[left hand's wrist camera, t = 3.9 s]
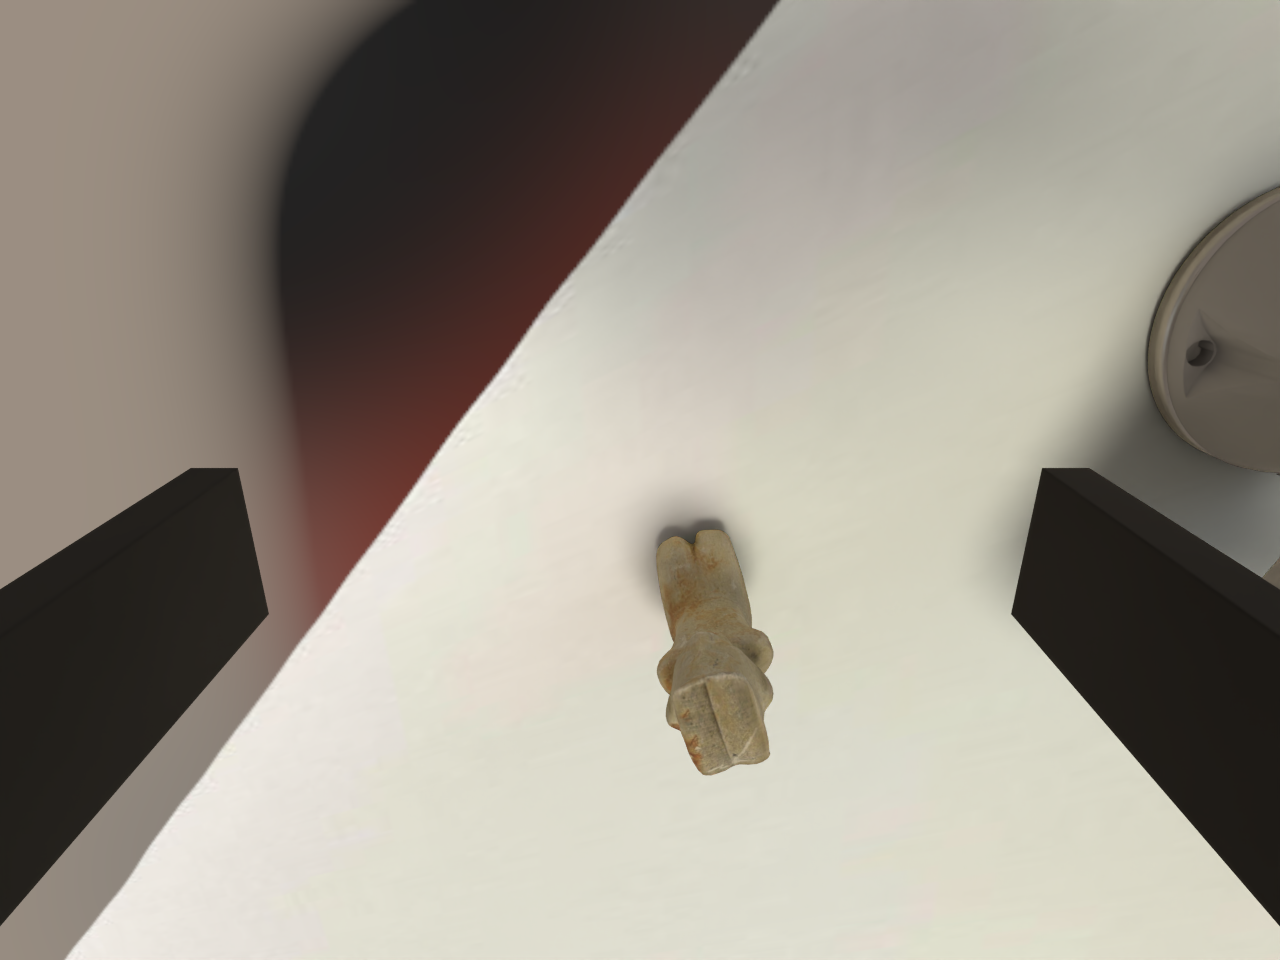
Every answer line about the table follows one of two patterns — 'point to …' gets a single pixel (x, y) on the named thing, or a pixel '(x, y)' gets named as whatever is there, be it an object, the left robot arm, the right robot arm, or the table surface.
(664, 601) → the sculpture
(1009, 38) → the table surface
